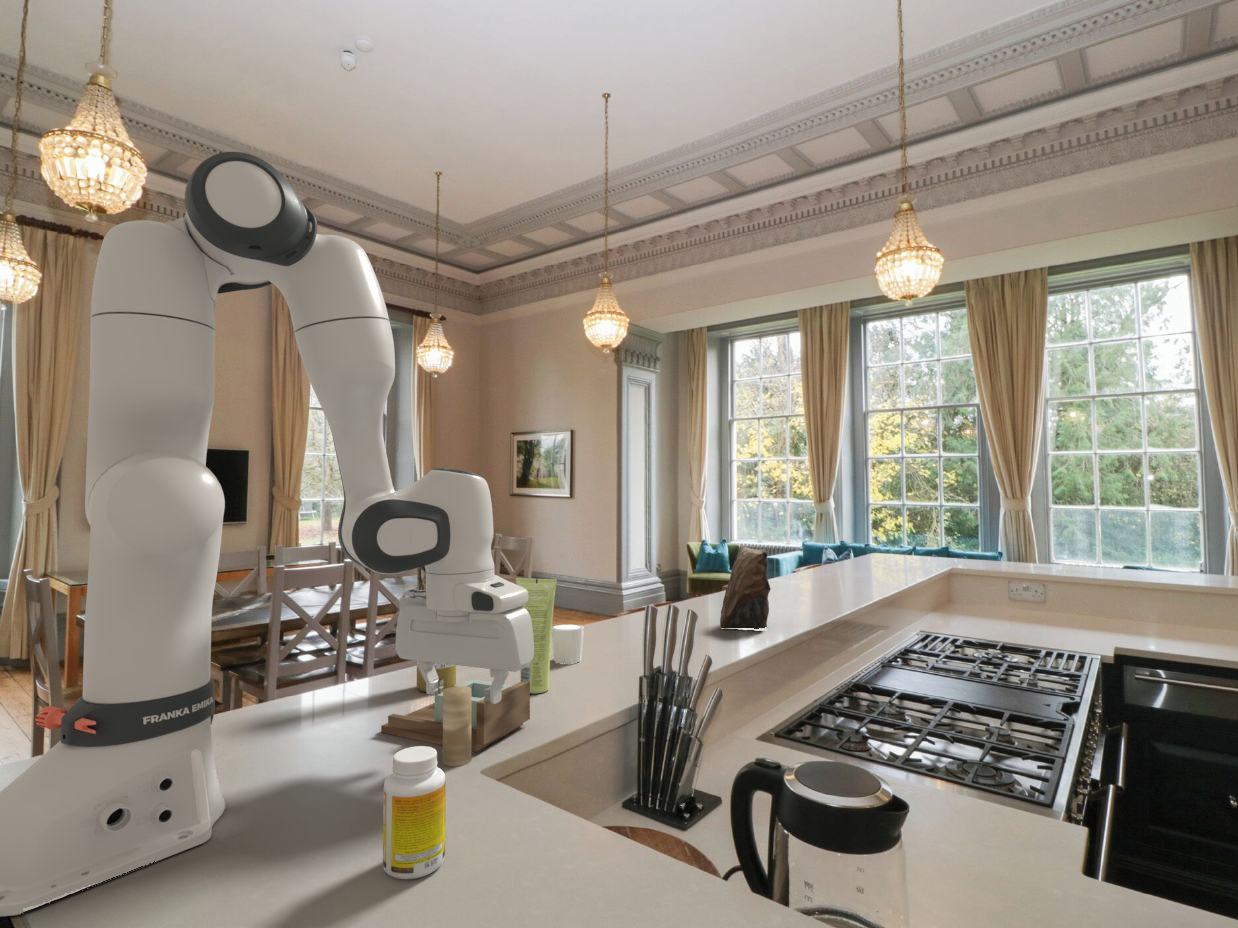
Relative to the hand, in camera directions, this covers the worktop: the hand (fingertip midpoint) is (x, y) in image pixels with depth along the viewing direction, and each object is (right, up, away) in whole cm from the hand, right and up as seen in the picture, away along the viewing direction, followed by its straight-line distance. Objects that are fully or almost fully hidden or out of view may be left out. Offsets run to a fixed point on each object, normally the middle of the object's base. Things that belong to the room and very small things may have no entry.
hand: (463, 697), depth 87 cm
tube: (+6, -9, +29) cm, 31 cm away
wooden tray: (-4, -8, +11) cm, 14 cm away
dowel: (-1, -8, -1) cm, 8 cm away
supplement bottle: (+1, -7, -25) cm, 26 cm away
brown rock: (+52, -11, +83) cm, 98 cm away
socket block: (0, -7, +9) cm, 11 cm away
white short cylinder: (+10, -10, +50) cm, 52 cm away
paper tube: (-12, -10, +31) cm, 35 cm away
